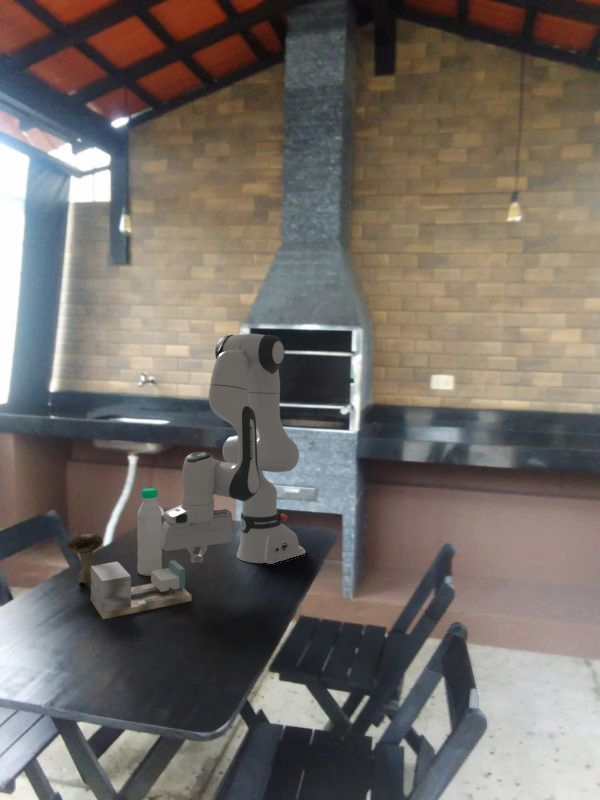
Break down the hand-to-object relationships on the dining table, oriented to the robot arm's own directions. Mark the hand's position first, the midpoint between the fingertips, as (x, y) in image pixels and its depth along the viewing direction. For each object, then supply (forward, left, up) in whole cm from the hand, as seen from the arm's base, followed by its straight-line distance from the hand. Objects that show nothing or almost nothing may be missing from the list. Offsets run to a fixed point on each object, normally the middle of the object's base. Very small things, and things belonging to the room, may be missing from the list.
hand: (196, 561), depth 172 cm
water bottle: (+7, -19, -8) cm, 22 cm away
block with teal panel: (+8, +1, -5) cm, 10 cm away
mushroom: (+26, -16, -8) cm, 32 cm away
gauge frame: (+15, 0, -8) cm, 17 cm away
